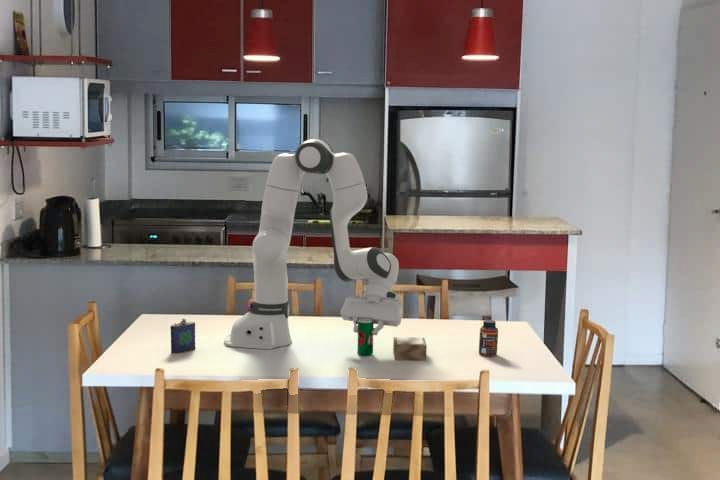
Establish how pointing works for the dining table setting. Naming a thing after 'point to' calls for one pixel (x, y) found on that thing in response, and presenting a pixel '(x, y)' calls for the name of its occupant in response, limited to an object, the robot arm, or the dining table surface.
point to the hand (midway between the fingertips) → (364, 332)
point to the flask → (182, 337)
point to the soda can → (365, 336)
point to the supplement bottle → (488, 339)
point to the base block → (409, 348)
